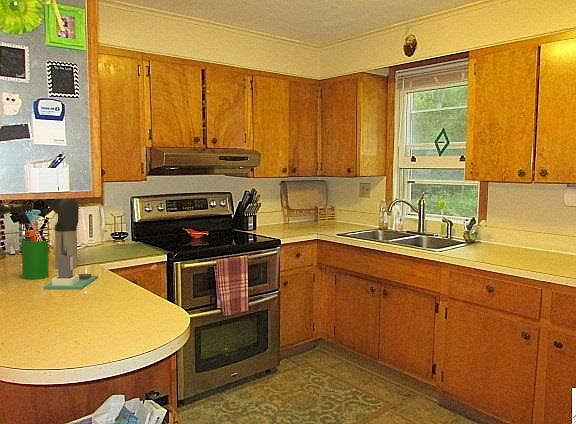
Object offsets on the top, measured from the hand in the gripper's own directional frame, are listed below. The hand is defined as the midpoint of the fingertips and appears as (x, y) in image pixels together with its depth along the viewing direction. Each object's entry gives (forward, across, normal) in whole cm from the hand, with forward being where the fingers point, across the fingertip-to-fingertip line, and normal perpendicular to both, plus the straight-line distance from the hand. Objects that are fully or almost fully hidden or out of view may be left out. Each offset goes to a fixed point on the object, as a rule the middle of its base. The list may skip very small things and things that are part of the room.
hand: (26, 209), depth 186 cm
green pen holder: (-4, +15, +30) cm, 34 cm away
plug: (+14, 0, +29) cm, 32 cm away
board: (+15, +4, +30) cm, 34 cm away
